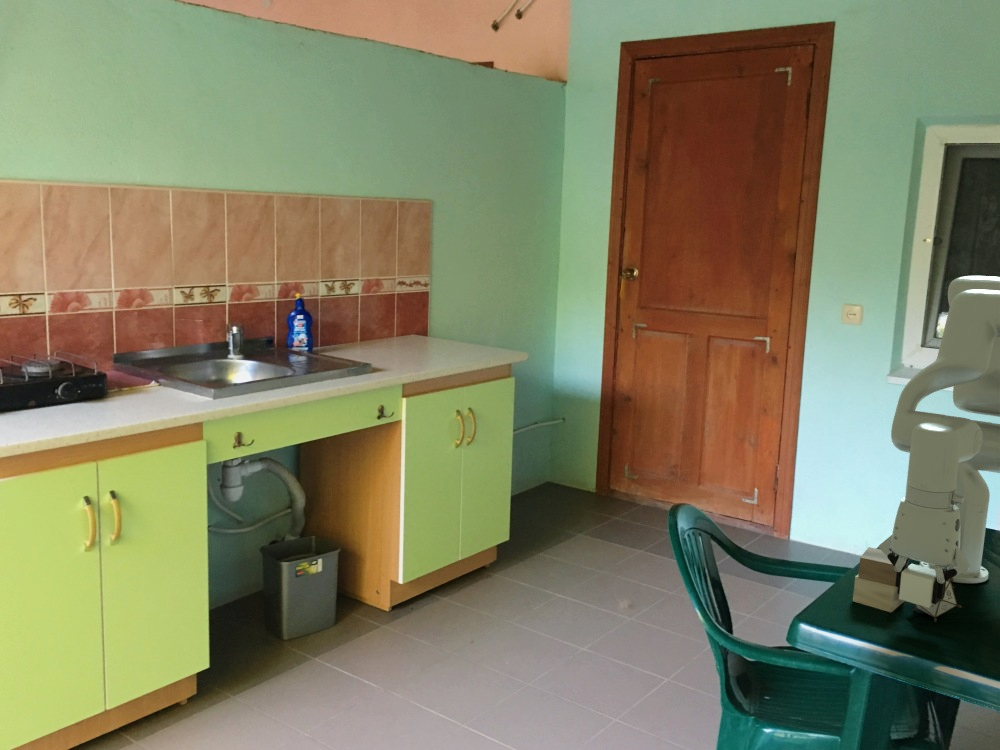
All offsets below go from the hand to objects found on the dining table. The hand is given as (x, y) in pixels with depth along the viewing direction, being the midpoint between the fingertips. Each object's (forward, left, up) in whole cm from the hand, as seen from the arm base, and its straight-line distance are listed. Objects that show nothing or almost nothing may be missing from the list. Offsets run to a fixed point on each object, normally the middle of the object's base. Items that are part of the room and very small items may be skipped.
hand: (919, 595), depth 160 cm
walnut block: (-8, -9, -1) cm, 12 cm away
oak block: (-8, -9, -6) cm, 13 cm away
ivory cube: (0, 0, -1) cm, 1 cm away
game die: (-8, 0, -6) cm, 10 cm away
